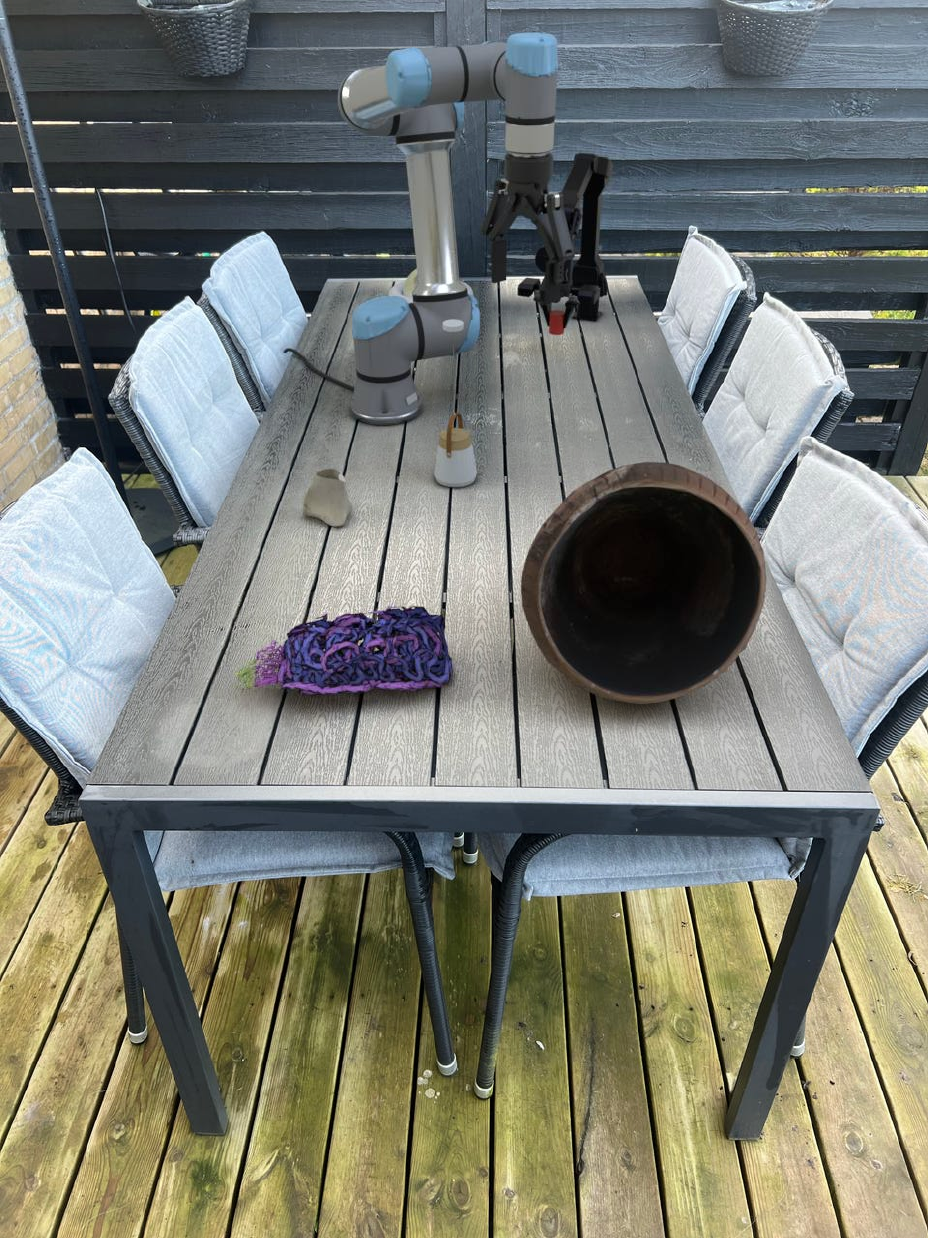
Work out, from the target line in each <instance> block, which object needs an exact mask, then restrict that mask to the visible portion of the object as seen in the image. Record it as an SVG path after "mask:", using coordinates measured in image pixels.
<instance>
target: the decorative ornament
mask: <svg viewBox="0 0 928 1238" xmlns="http://www.w3.org/2000/svg"><path fill="white" fill-rule="evenodd" d="M401 608H402V609H400V607H398V606H391V605H390V606H387V608H386V609H385V610H375V611H369V612H357V613H347V612H346V613H345V614H341V615H339V616H336V617H335V619H333V620H328V613H325V614H323V615H322V616H317V617H316V618H314V620H313V621H309V622H303V623H300V624H298V625H294V627H292V628H291V629H290V630H289V631H288V632H287V633H286V636H287V639H286V640H284V643H283V644H280V645H278V646H277V644H278V641H277V640H274V639H273V640H272V641H270V643H268V644H269V646H265V649H264V648H262V649H261V650H260V651H259V650H258V651H257V653H256V655H255V656H254V657H255V658H254V659H253V660H252V661H250V663H248V664H247V665H245V666H243V667H241V668H239V669H238V670H236V673H235V675H236V677H235V679H238V681H239V683H238V684H237V686H236V688H235V690H238V689H240V687H239V686H242V685H243V684H244V685H243V686H242V687H241V689H242V690H241V693H243V692H244V690H251V689H260V688H261V689H260V690H262V691H263V688H264V686H266V688H267V690H268V689H269V690H270V689H273V687H269V688H268V686H271V685H276V689H280V690H285V692H286V693H289V691H290V690H298V691H297V693H298V695H301V696H310V697H311V696H312V697H317V696H331V695H342V694H347V693H348V694H365V693H370V690H395V691H397V690H402V691H403V692H404V693H405V692H419V691H420V690H421V689H433V688H434V689H436V688H438V689H439V688H442V684H444V683H445V684H446V683H450V680H451V677H452V673H453V672H454V670H453V658H452V657H451V656H450V654H449V652H450V651H449V647H448V643H447V640H446V635H445V633H444V630H445V629H446V621H445V617H444V616H443V614H430V613H429V612H428V610H427V609H426V608H425V607H424V606H419V605H418V606H416V605H412V606H410V607H405V606H401ZM366 614H376V618H377V619H376V618H375V619H374V618H370V617H368V616H367V615H366ZM373 621H375V622H373ZM360 641H361V642H360ZM359 642H360V644H359ZM276 646H277V647H276ZM376 649H377V650H376ZM265 653H267V655H265ZM251 666H253V667H251ZM265 666H266V667H265ZM253 674H254V675H253ZM425 675H426V676H425ZM278 685H280V686H278ZM277 686H278V687H277Z"/></svg>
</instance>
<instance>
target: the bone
mask: <svg viewBox="0 0 928 1238" xmlns="http://www.w3.org/2000/svg"><path fill="white" fill-rule="evenodd" d="M347 489H348V488H347V480H346V478H345V476H344V475H343V474H342V473H341V472H340V471H338V470H337V469H334V468H326V469H321V470H319V471H316V473H315V475H314V476H313V478H312V481H311V482H310V485H309V486H308V487H307V490H306V491H305V493H304V496H303V498H302V508H301V513H302V514H303V515H305V516H307V517H314V518H317V519H319V520H322V521H323V522H324V523H325V524H327V525H328V526H330V527H334V528H336V527H342V526H344V525H345V524H346V520H347V516H348V515H349V514H351V512H352V511H353V503H352V502H351V501H350V499H349V495H348V490H347Z"/></svg>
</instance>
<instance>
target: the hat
mask: <svg viewBox="0 0 928 1238" xmlns="http://www.w3.org/2000/svg"><path fill="white" fill-rule="evenodd" d="M460 281H461V282H462V283H464V284H465V285H466V286H467V290H468V294H470V295H473V296H474V291H473V289H472V287H471V286H470V285H469V284H468V283H466V282H464V281H462V280H460ZM417 285H418V274H417V268H415V269H414V270H413V271H411V273H409V275H407V277H406V279H404V280H402V281H400V282H397V283H396V284H394V285H393V286H392V287H391V288H390V289H389V291H388V295H387V296H389V297H391V296H399V297H402V298H404V299H406V301H407V303H413V296H412V292H413V290H414V289H415V288H416V286H417Z"/></svg>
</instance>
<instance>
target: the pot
mask: <svg viewBox="0 0 928 1238" xmlns="http://www.w3.org/2000/svg"><path fill="white" fill-rule="evenodd" d="M524 560H525V561H524V563H523V568H522V573H521V580H520V592H521V593H520V595H521V607H522V610H523V611H522V612H523V613H524V616H525V620H526V623H527V626H528V628H529V630H530V634H531V635H532V637H533V639H534V641H535V643H536V645H537V647H538V649H539V650H540V652H541V653H542V655H543V656H544V658H545V659H546V661H547V662H548V664H550V665H551V666H552V667H553V668H555V669H556V670H557V671H558V672H559V673H560V674H561V675H563V676H564V677H565V678H566V679H567V680H568V681H570V682H571V683H572V684H574V685H576V686H577V687H580V688H581V689H583V690H585V691H587V692H589V693H591V694H593V695H595V696H598V697H601V698H603V699H606V700H611V701H615V702H623V703H629V704H635V705H647V704H657V703H664V702H668V701H671V700H674V699H678V698H682V697H685V696H687V695H689V694H691V693H693V692H695V691H698V690H700V689H701V688H703V687H705V686H708V685H709V684H711V683H712V682H713V681H714V680H716V679H717V678H719V677H720V676H722V675H723V674H724V673H726V672H727V671H728V669H729V667H731V666H732V665H733V664H734V662H735V661H736V660H737V658H738V657H739V656H740V654H741V653H743V651H745V650H746V649H747V647H748V644H749V642H750V640H751V639H752V636H753V634H754V633H755V630H756V628H757V624H758V622H759V620H760V617H761V614H762V610H763V608H764V605H765V600H766V591H767V569H766V559H765V553H764V549H763V547H762V544H761V541H760V537H759V533H758V531H757V529H756V528H755V526H754V524H753V522H752V521H751V519H750V517H749V515H748V514H747V513H746V512H745V510H744V509H743V508H742V506H741V505H740V504H739V503H738V501H736V500H735V499H734V497H732V496H731V495H730V493H728V492H727V491H726V490H725V489H724V488H723V487H722V486H721V485H719V484H718V483H717V482H714V480H712V479H711V478H709V477H707V476H706V475H705V476H704V475H703V474H701V473H699V472H697V471H694V470H692V469H690V468H687V467H684V466H681V465H679V464H675V463H669V462H662V461H661V462H660V461H658V462H657V461H642V462H636V463H632V464H631V463H630V464H626V465H621V466H619V467H615V468H612V469H609V470H607V471H605V472H603V473H601V474H599V475H598V476H596V477H594V478H592V479H590V480H588V481H586V482H585V483H583V484H581V485H580V486H579V487H577V488H575V489H574V490H573V491H572V492H571V493H569V495H567V496H566V497H565V498H564V499H563V501H562V502H561V503H560V504H559V505H558V506H557V507H556V508H555V509H554V511H553V512H552V513H551V514H550V515H549V516H548V517H547V518H546V520H545V521H544V522H543V524H541V526H540V528H539V530H538V531H537V533H536V535H535V536H534V539H533V541H532V542H531V544H530V547H529V548H528V551H527V554H526V557H525V559H524Z"/></svg>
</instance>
